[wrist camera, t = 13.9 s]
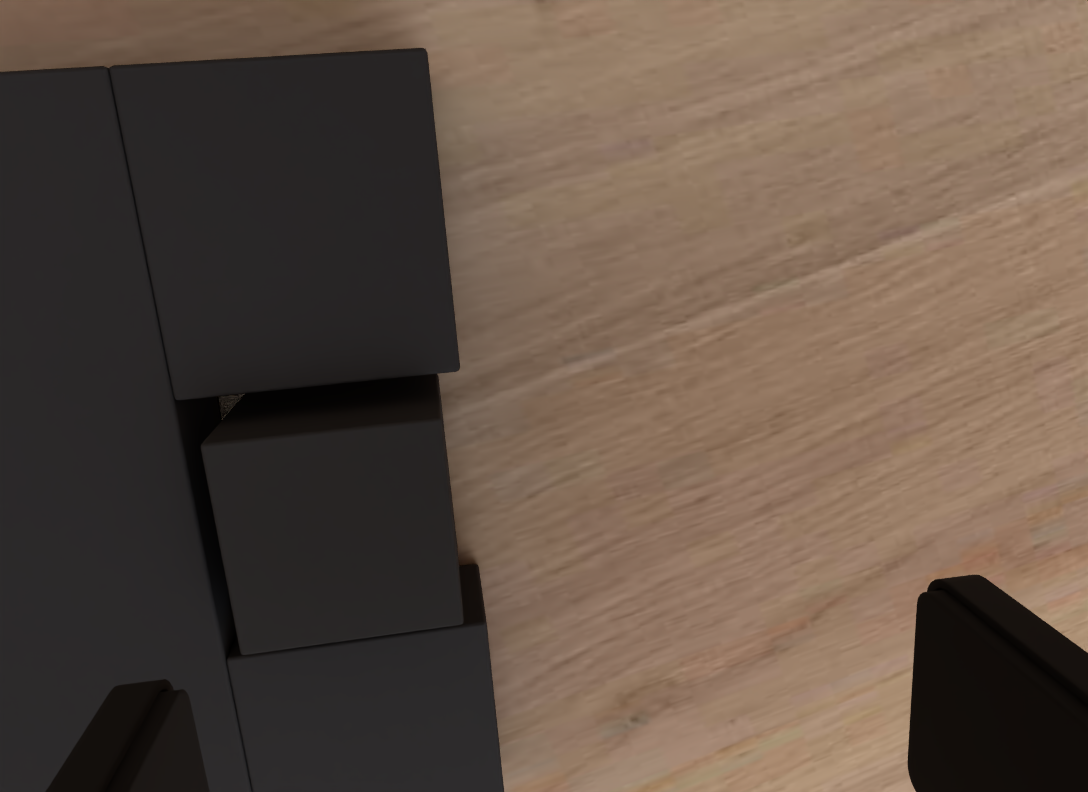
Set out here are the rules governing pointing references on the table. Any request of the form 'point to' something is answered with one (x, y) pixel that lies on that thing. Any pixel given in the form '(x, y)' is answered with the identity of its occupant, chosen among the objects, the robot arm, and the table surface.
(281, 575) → the pad block
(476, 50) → the table surface
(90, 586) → the base pad
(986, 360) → the table surface
